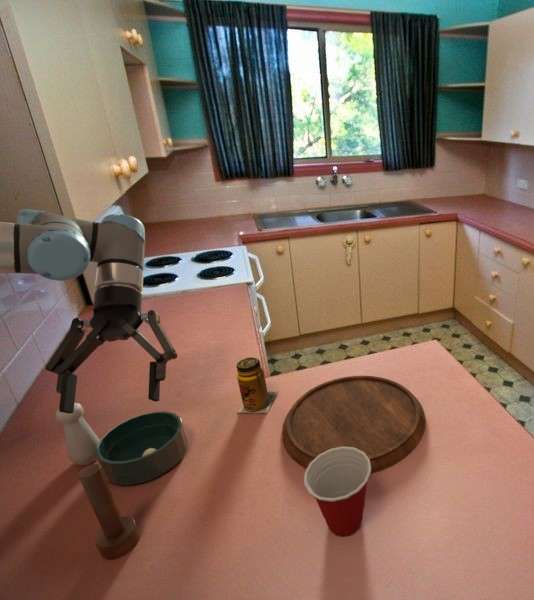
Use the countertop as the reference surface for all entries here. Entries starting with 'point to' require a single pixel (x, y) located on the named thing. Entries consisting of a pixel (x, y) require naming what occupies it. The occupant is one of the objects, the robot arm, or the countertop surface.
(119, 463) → the bowl
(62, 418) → the salt shaker
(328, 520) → the plastic cup
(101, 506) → the wooden masher
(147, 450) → the cream ball
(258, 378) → the condiment
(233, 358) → the countertop surface
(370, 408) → the cutting board
